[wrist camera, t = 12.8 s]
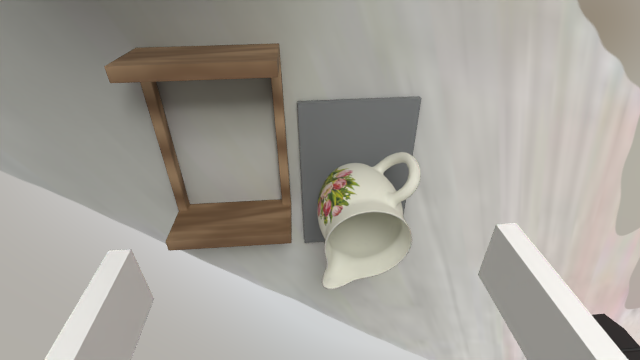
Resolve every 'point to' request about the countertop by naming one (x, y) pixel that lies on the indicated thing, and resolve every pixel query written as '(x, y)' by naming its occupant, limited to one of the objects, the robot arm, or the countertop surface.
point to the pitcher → (364, 220)
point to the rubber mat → (351, 143)
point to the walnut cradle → (192, 219)
